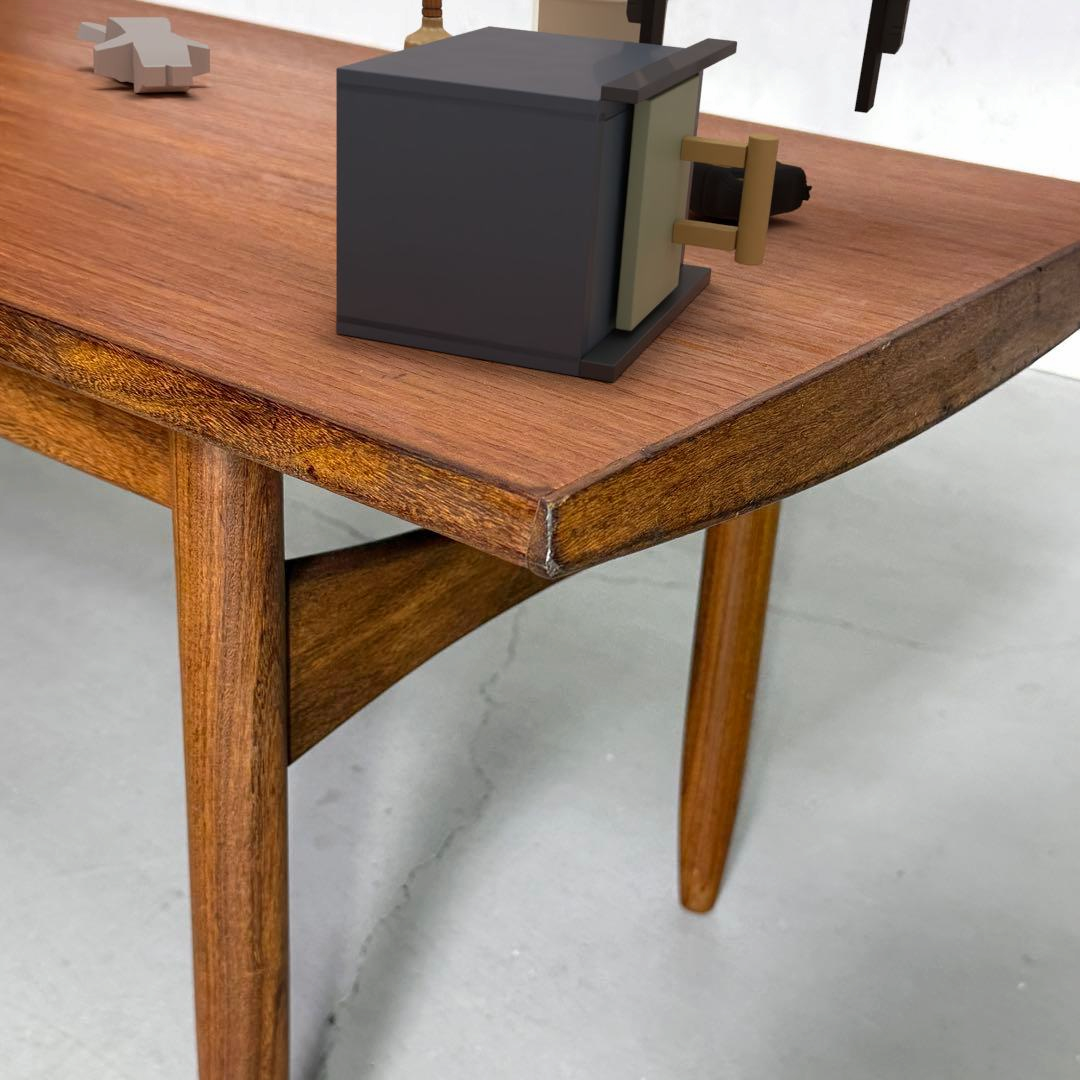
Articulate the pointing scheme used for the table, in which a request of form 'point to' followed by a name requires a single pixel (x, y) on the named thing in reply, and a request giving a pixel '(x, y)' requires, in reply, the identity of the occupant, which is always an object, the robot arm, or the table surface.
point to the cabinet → (500, 196)
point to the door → (683, 199)
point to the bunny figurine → (145, 53)
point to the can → (589, 19)
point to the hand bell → (428, 25)
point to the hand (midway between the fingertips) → (753, 95)
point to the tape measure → (723, 186)
